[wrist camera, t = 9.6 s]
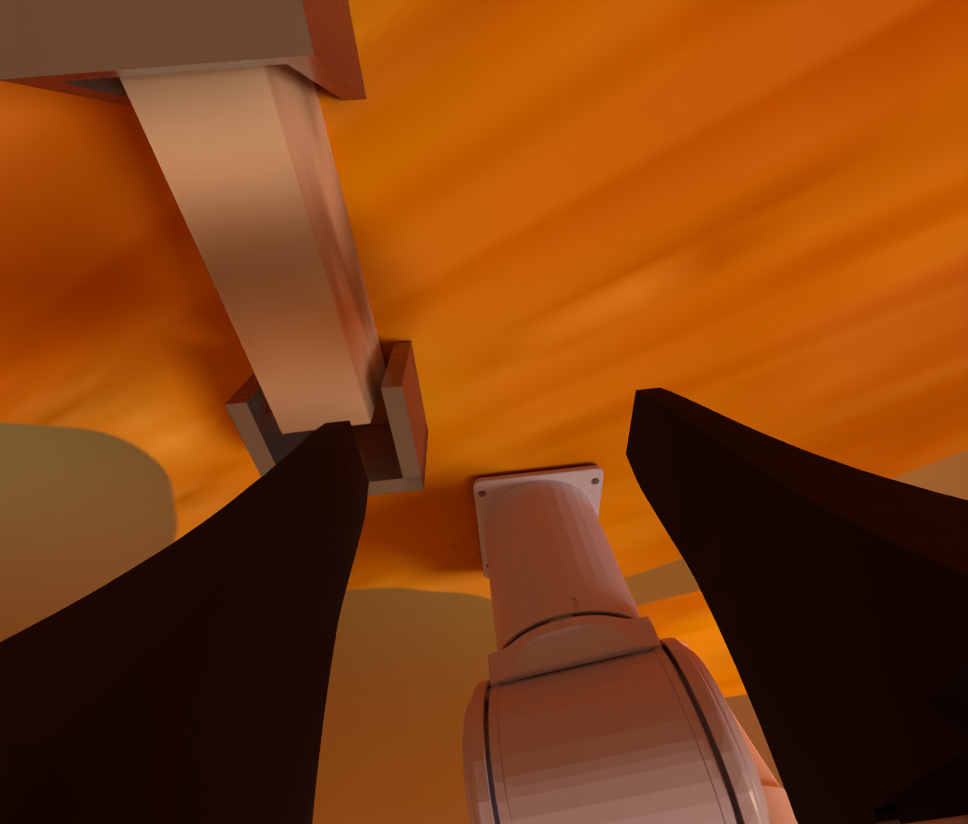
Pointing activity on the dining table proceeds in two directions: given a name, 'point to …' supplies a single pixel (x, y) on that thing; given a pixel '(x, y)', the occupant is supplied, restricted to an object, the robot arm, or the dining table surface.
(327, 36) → the grey rectangular block
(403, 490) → the open end cap
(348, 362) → the light brown long block
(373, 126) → the dining table surface
